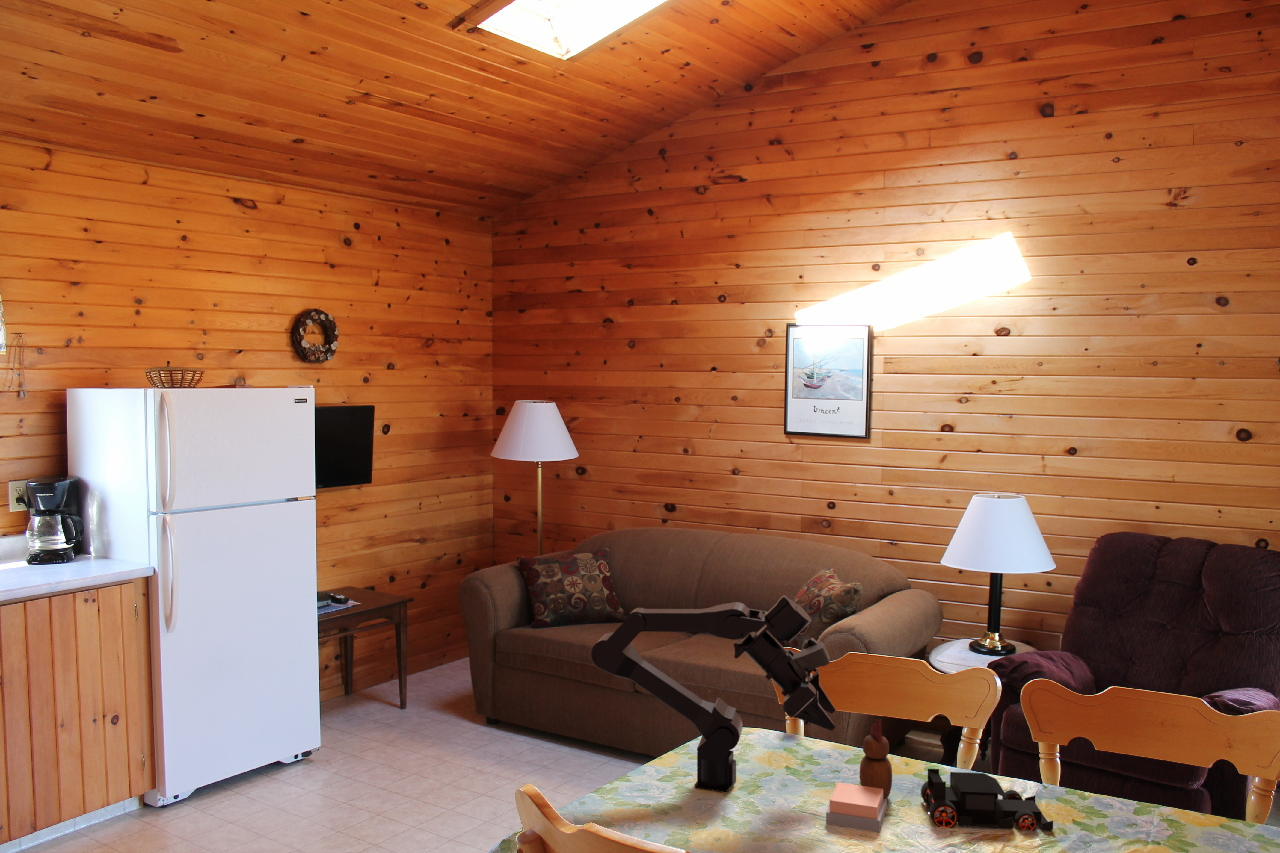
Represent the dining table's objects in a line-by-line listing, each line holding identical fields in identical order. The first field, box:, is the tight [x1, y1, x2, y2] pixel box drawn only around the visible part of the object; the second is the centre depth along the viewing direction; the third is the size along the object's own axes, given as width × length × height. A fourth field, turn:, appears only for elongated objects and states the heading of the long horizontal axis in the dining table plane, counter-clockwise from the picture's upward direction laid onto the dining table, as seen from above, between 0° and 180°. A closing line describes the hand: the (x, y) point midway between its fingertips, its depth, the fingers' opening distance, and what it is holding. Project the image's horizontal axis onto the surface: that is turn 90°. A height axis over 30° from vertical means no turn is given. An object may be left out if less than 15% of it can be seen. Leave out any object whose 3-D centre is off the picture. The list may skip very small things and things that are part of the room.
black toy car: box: [920, 768, 1054, 831], centre depth 168 cm, size 10×20×7 cm, turn 84°
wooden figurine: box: [859, 718, 893, 800], centre depth 176 cm, size 7×6×15 cm
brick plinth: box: [825, 781, 887, 833], centre depth 168 cm, size 9×9×4 cm
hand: (833, 720), depth 177 cm, fingers open, 9 cm apart
